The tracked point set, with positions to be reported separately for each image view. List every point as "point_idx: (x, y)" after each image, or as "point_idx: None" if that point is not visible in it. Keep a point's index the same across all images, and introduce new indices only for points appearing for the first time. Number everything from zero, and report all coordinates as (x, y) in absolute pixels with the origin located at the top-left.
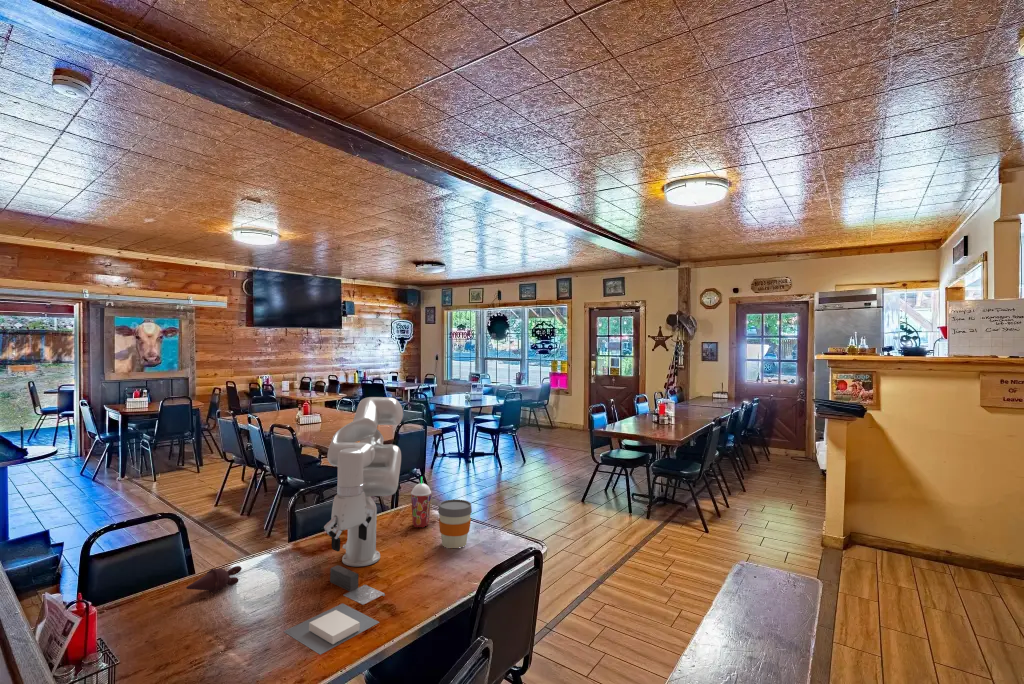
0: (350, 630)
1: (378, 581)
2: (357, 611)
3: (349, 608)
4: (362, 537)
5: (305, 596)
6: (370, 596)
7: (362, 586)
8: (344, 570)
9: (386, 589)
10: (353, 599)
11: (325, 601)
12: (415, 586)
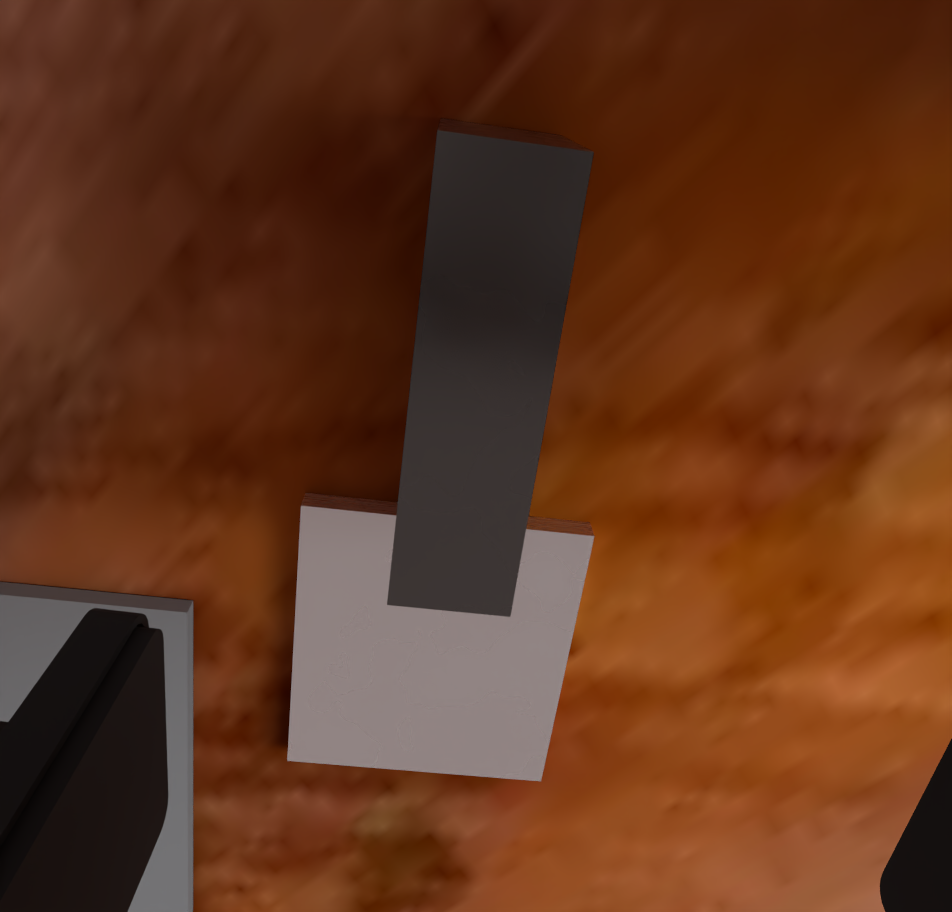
0: None
1: (755, 549)
2: (181, 793)
3: (168, 716)
4: (933, 884)
5: (38, 107)
6: (427, 726)
7: (546, 542)
8: (492, 395)
9: (645, 706)
10: (296, 647)
11: (132, 408)
12: (800, 846)
